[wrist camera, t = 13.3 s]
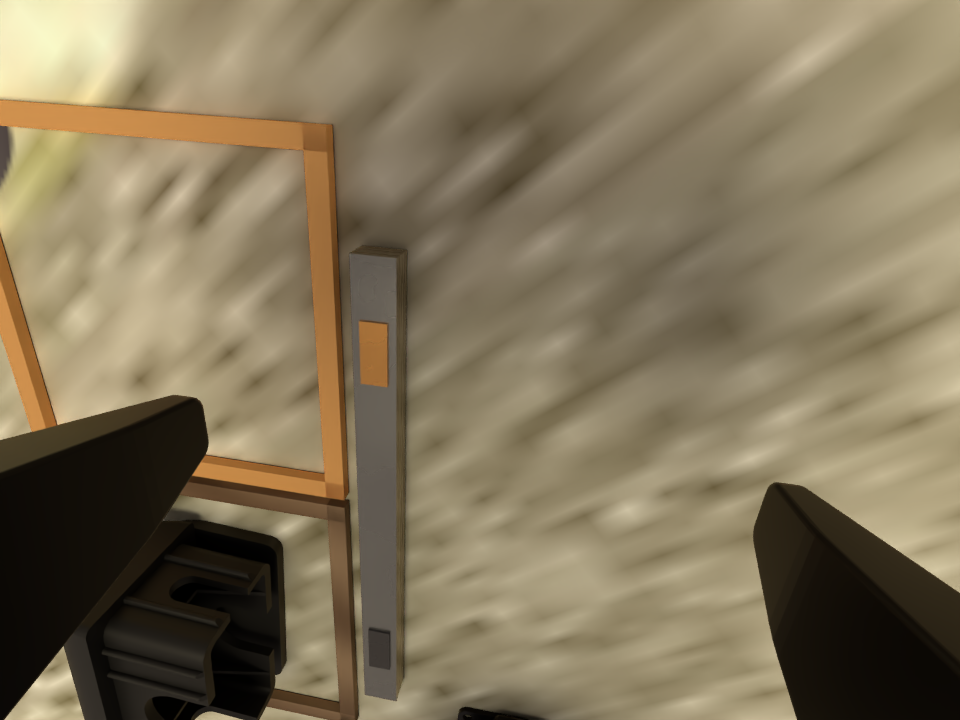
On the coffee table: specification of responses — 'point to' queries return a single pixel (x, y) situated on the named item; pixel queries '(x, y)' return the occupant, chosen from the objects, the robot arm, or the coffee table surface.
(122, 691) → the end cap
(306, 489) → the orange marked frame
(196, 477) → the walnut seat frame
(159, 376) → the coffee table surface
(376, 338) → the metal rail
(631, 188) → the coffee table surface
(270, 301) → the coffee table surface
